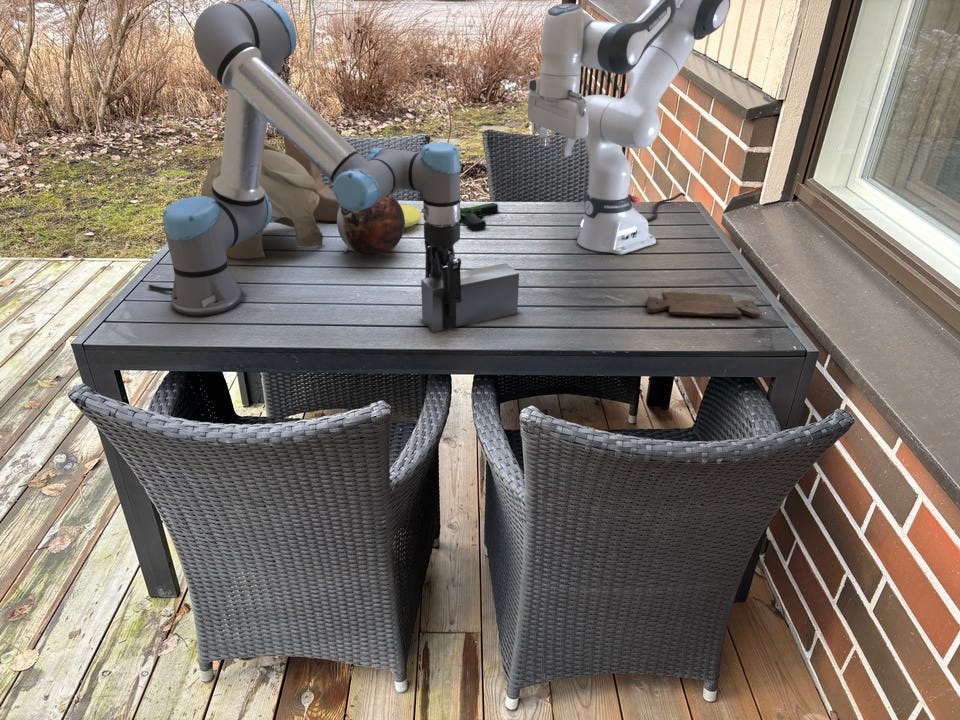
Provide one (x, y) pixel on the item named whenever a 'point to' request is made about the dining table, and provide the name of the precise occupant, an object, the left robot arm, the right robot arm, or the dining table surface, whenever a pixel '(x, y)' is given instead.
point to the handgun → (477, 215)
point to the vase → (411, 215)
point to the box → (473, 296)
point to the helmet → (279, 200)
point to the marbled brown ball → (372, 227)
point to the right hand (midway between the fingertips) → (555, 150)
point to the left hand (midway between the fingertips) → (443, 320)
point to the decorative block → (328, 200)
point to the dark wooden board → (702, 305)
